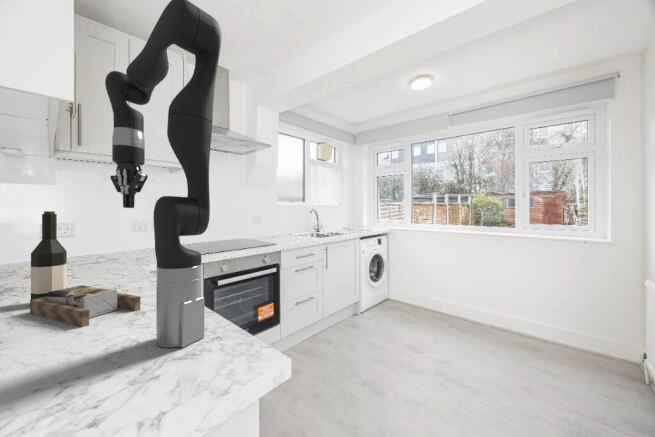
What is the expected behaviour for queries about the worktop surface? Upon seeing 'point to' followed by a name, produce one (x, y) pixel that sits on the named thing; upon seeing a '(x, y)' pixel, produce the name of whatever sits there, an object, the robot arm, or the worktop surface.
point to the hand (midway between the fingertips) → (128, 207)
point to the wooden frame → (76, 309)
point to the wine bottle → (48, 260)
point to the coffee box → (87, 299)
